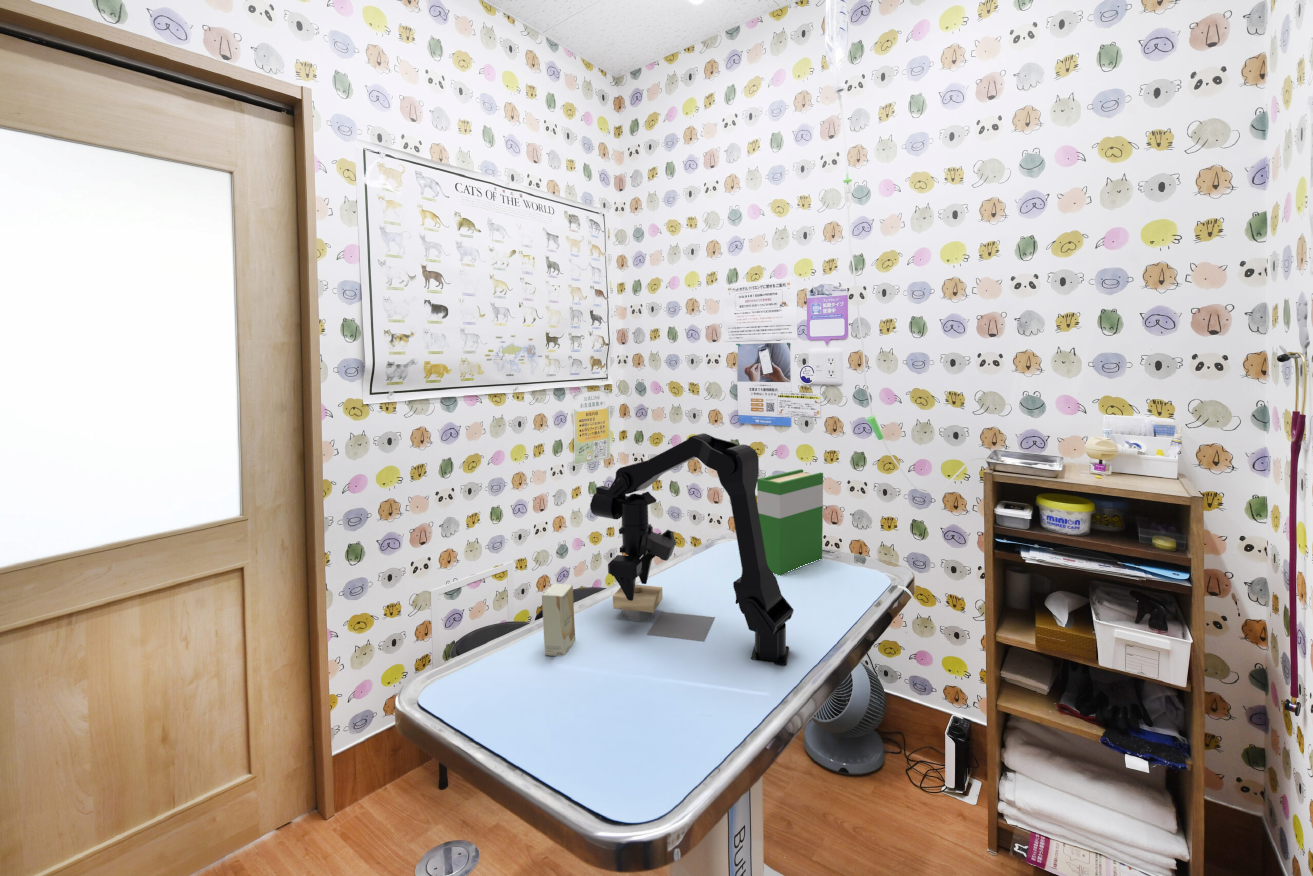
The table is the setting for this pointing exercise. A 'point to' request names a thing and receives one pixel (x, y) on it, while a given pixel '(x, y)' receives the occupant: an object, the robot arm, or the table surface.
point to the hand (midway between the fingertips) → (637, 591)
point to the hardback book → (791, 519)
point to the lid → (639, 599)
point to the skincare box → (558, 619)
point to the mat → (682, 626)
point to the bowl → (637, 615)
